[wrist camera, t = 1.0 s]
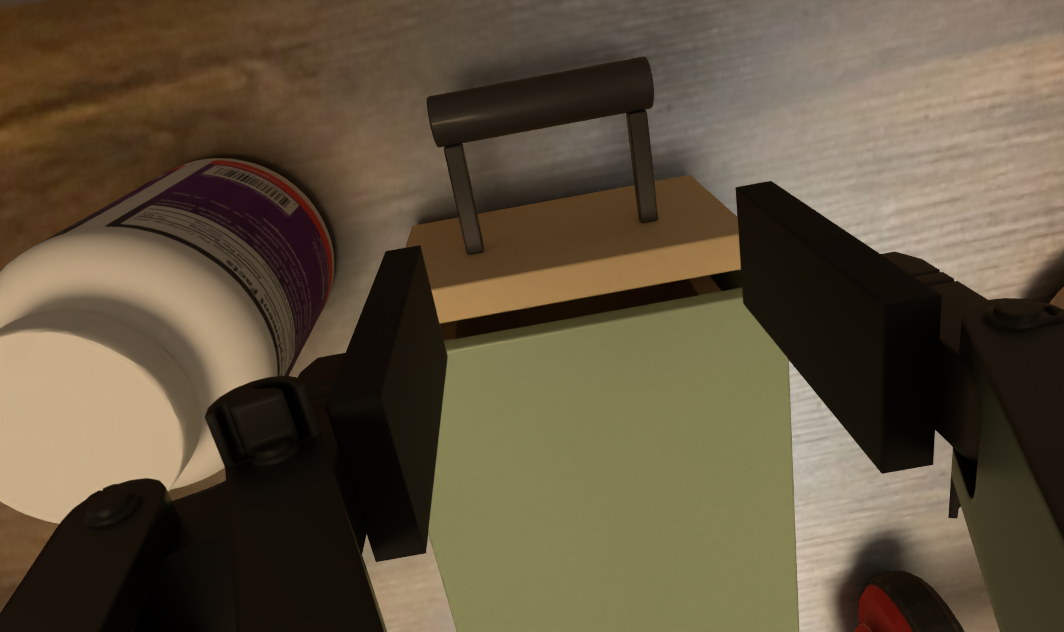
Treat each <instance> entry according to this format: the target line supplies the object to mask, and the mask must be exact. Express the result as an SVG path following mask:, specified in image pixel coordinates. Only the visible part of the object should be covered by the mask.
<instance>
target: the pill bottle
mask: <svg viewBox="0 0 1064 632" xmlns="http://www.w3.org/2000/svg"><path fill="white" fill-rule="evenodd" d="M333 277H334V252H333V246H332V242H331V239H330V236H329V233H328V230H327V228H326V226H325V224H324V221H323V220H322V218H321V216H320V214H319V212H318V211H317V209H316V208H315V206H314V205H313V204H312V202H311V201H310V200H309V199H308V198H307V196H306V195H305V194H304V193H303V192H302V191H301V190H299V189H298V188H297V187H296V186H295V185H294V184H292V183H291V182H290V181H288V180H287V179H286V178H284V177H282V176H281V175H279V174H277V173H276V172H274V171H272V170H269V169H267V168H265V167H263V166H260V165H257V164H254V163H250V162H247V161H242V160H237V159H228V158H211V159H203V160H197V161H193V162H189V163H186V164H183V165H181V166H178V167H176V168H174V169H172V170H169V171H167V172H165V173H163V174H162V175H160V176H158V177H156V178H155V179H153V180H151V181H150V182H148V183H146V184H144V185H143V186H141V187H139V188H138V189H136V190H134V191H132V192H131V193H129V194H127V195H125V196H124V197H122V198H120V199H118V200H116V201H115V202H113V203H111V204H109V205H107V206H106V207H104V208H102V209H100V210H99V211H97V212H95V213H93V214H91V215H90V216H88V217H86V218H84V219H82V220H81V221H79V222H77V223H75V224H73V225H72V226H70V227H68V228H66V229H64V230H62V231H61V232H59V233H57V234H55V235H54V236H52V237H50V238H48V239H46V240H44V241H43V242H41V243H39V244H37V245H35V246H34V247H32V248H30V249H29V250H27V251H25V252H24V253H22V254H21V255H19V256H18V257H16V258H15V259H14V260H12V261H11V262H10V263H9V264H8V265H6V266H5V267H4V268H3V269H2V270H1V271H0V501H1V502H2V503H4V504H6V505H8V506H10V507H11V508H13V509H15V510H17V511H20V512H22V513H24V514H26V515H29V516H32V517H35V518H38V519H41V520H44V521H48V522H53V523H57V524H60V522H61V521H62V520H63V519H64V518H65V517H66V516H67V514H68V513H69V512H70V511H71V510H72V509H73V508H75V507H76V506H77V505H79V504H80V503H82V502H83V501H84V500H86V499H87V498H88V497H89V496H90V495H91V494H93V493H95V492H97V491H98V490H100V491H102V490H103V489H102V488H105V487H107V486H110V485H112V484H120V483H123V482H126V481H129V480H135V479H143V478H150V479H155V480H160V481H161V482H162V484H163V485H164V486H165V487H166V489H167V491H169V490H170V489H174V488H179V487H183V486H186V485H189V484H192V483H195V482H198V481H200V480H202V479H204V478H207V477H209V476H211V475H213V474H215V473H216V472H218V471H220V470H221V469H223V468H225V466H224V464H223V462H222V459H221V457H220V454H219V452H218V449H217V447H216V444H215V442H214V439H213V437H212V434H211V432H210V430H209V427H208V425H207V422H206V420H205V414H206V412H207V409H208V407H209V406H211V405H212V404H213V403H214V402H215V401H216V400H217V399H218V398H219V397H221V396H222V395H224V394H226V393H227V392H229V391H231V390H233V389H234V388H237V387H239V386H242V385H244V384H247V383H249V382H252V381H255V380H259V379H263V378H268V377H275V376H289V374H290V372H291V370H292V368H293V366H294V364H295V362H296V360H297V358H298V356H299V354H300V352H301V350H302V348H303V347H304V345H305V343H306V341H307V339H308V337H309V335H310V333H311V331H312V329H313V327H314V325H315V323H316V321H317V319H318V317H319V315H320V313H321V311H322V310H323V308H324V305H325V303H326V301H327V298H328V296H329V293H330V290H331V287H332V283H333Z"/></svg>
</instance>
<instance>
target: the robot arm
mask: <svg viewBox="0 0 1064 632" xmlns="http://www.w3.org/2000/svg"><path fill="white" fill-rule="evenodd" d="M736 201H737V217H738V232H739V248H740V264H741V279H742V295H743V304H744V305H745V307H746V308H747V309H748V310H749V312H750V313H751V314H752V315H753V316H754V318H755V319H756V320H757V321H758V323H759V324H760V325H761V326H762V327H763V329H764V330H765V331H766V332H767V334H768V335H769V336H770V337H771V338H772V340H773V341H774V342H775V343H776V345H777V346H778V347H779V348H780V349H781V351H782V352H783V353H784V354H785V356H786V357H787V358H788V359H789V361H790V362H791V363H792V364H793V365H794V367H795V368H796V369H797V370H798V372H799V373H800V374H801V375H802V376H803V378H804V379H805V380H806V381H807V383H808V384H809V385H810V386H811V387H812V389H813V390H814V391H815V392H816V394H817V395H818V396H819V397H820V398H821V400H822V401H823V402H824V403H825V405H826V406H827V407H828V408H829V409H830V411H831V412H832V413H833V414H834V416H835V417H836V418H837V419H838V420H839V422H840V423H841V424H842V425H843V427H844V428H845V429H846V430H847V431H848V433H849V434H850V435H851V436H852V438H853V439H854V440H855V441H856V443H857V444H858V445H859V446H860V447H861V449H862V450H863V451H864V452H865V454H866V455H867V456H868V457H869V458H870V460H871V461H872V462H873V463H874V465H875V466H876V467H877V468H878V469H879V471H880V472H881V473H888V472H894V471H899V470H905V469H911V468H917V467H922V466H928V465H933V456H934V437H935V430H936V431H937V432H938V433H939V434H940V435H941V436H942V437H943V438H944V439H945V440H946V441H948V442H949V443H950V444H951V445H952V446H953V456H952V472H951V487H950V503H949V518H957V517H958V508H959V507H961V508H962V511H963V514H964V517H965V520H966V524H967V527H968V530H969V533H970V537H971V540H972V543H973V546H974V549H975V553H976V556H977V559H978V562H979V565H980V569H981V572H982V575H983V578H984V582H985V585H986V588H987V591H988V594H989V598H990V601H991V604H992V607H993V610H994V614H995V617H996V620H997V623H998V627H999V630H1000V632H1064V309H1062V308H1059V307H1057V306H1055V305H1051V304H1048V303H1045V302H1039V301H1034V300H1028V299H1009V298H1003V299H993V300H987V299H986V298H984V297H983V296H981V295H979V294H978V293H976V292H974V291H973V290H971V289H970V288H968V287H966V286H965V285H963V284H961V283H960V282H958V281H955V282H954V279H953V278H952V277H950V276H948V275H947V274H945V273H944V272H940V271H939V269H937V268H935V267H934V266H932V265H931V264H929V263H927V262H926V261H924V260H922V259H920V258H916V257H912V256H909V255H905V254H902V253H898V252H890V253H885V254H879V253H878V252H876V251H875V250H873V249H872V248H870V247H869V246H867V245H866V244H864V243H863V242H861V241H860V240H858V239H857V238H855V237H854V236H852V235H851V234H849V233H848V232H846V231H845V230H843V229H842V228H840V227H839V226H837V225H836V224H834V223H833V222H831V221H830V220H828V219H827V218H825V217H824V216H822V215H821V214H819V213H818V212H816V211H815V210H813V209H812V208H810V207H809V206H807V205H806V204H804V203H803V202H801V201H800V200H799V199H797V198H796V197H794V196H793V195H791V194H790V193H788V192H787V191H785V190H784V189H782V188H781V187H779V186H778V185H776V184H775V183H773V182H772V181H768V182H763V183H757V184H752V185H746V186H741V187H736ZM447 359H448V356H447V352H446V348H445V343H444V339H443V335H442V331H441V327H440V323H439V319H438V315H437V311H436V307H435V303H434V299H433V294H432V290H431V286H430V282H429V278H428V274H427V270H426V266H425V262H424V258H423V254H422V250H421V245H418V246H412V247H407V248H402V249H396V250H391V251H386V252H385V255H384V257H383V260H382V262H381V265H380V267H379V270H378V272H377V275H376V277H375V280H374V283H373V285H372V288H371V290H370V293H369V295H368V298H367V300H366V303H365V305H364V308H363V310H362V313H361V315H360V318H359V320H358V323H357V326H356V328H355V331H354V333H353V336H352V338H351V341H350V343H349V346H348V348H347V351H346V353H342V354H337V355H331V356H325V357H320V358H317V359H316V360H315V361H314V362H312V363H311V364H310V365H309V366H308V367H307V368H305V369H304V370H303V371H302V372H301V373H300V374H299V376H298V378H295V377H290V376H275V377H268V378H263V379H259V380H255V381H252V382H249V383H247V384H244V385H242V386H239V387H237V388H234V389H233V390H231V391H229V392H227V393H226V394H224V395H222V396H221V397H219V398H218V399H217V400H216V401H215V402H214V403H213V404H212V405H211V406H209V407H208V409H207V412H206V414H205V420H206V422H207V425H208V427H209V430H210V432H211V434H212V437H213V439H214V442H215V444H216V447H217V449H218V452H219V454H220V457H221V459H222V462H223V464H224V466H225V471H226V481H224V482H222V483H220V484H217V485H215V486H213V487H210V488H208V489H205V490H202V491H199V492H197V493H194V494H191V495H188V496H186V497H183V498H180V499H177V500H174V501H172V500H171V498H170V496H169V493H168V491H167V489H166V487H165V486H164V485H163V484H162V482H161V481H160V480H155V479H150V478H143V479H135V480H129V481H126V482H123V483H120V484H112V485H110V486H107V487H105V488H102V489H103V490H102V491H100V490H98V491H97V492H95V493H93V494H91V495H90V496H89V497H88V498H87V499H86V500H84V501H83V502H82V503H80V504H79V505H77V506H76V507H75V508H73V509H72V510H71V511H70V512H69V513H68V514H67V516H66V517H65V518H64V519H63V520H62V521H61V522H60V524H59V525H58V527H57V528H56V530H55V531H54V533H53V534H52V536H51V537H50V539H49V540H48V542H47V544H46V545H45V547H44V548H43V550H42V551H41V553H40V554H39V556H38V557H37V559H36V560H35V562H34V563H33V565H32V566H31V568H30V569H29V571H28V572H27V574H26V575H25V577H24V578H23V580H22V581H21V583H20V584H19V586H18V587H17V589H16V590H15V592H14V593H13V595H12V596H11V598H10V599H9V601H8V602H7V604H6V606H5V607H4V609H3V610H2V612H1V613H0V632H387V630H386V627H385V624H384V621H383V618H382V615H381V612H380V608H379V605H378V602H377V599H376V596H375V593H374V590H373V587H372V584H371V581H370V578H369V575H368V572H367V569H366V566H365V563H364V560H363V557H362V552H363V547H364V543H365V538H366V534H367V536H368V539H369V542H370V545H371V548H372V551H373V554H374V557H375V560H376V562H378V561H384V560H390V559H396V558H401V557H407V556H413V555H418V554H424V553H426V547H427V538H428V529H429V520H430V512H431V503H432V494H433V485H434V476H435V467H436V458H437V449H438V440H439V431H440V422H441V413H442V404H443V395H444V386H445V377H446V368H447Z"/></svg>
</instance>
